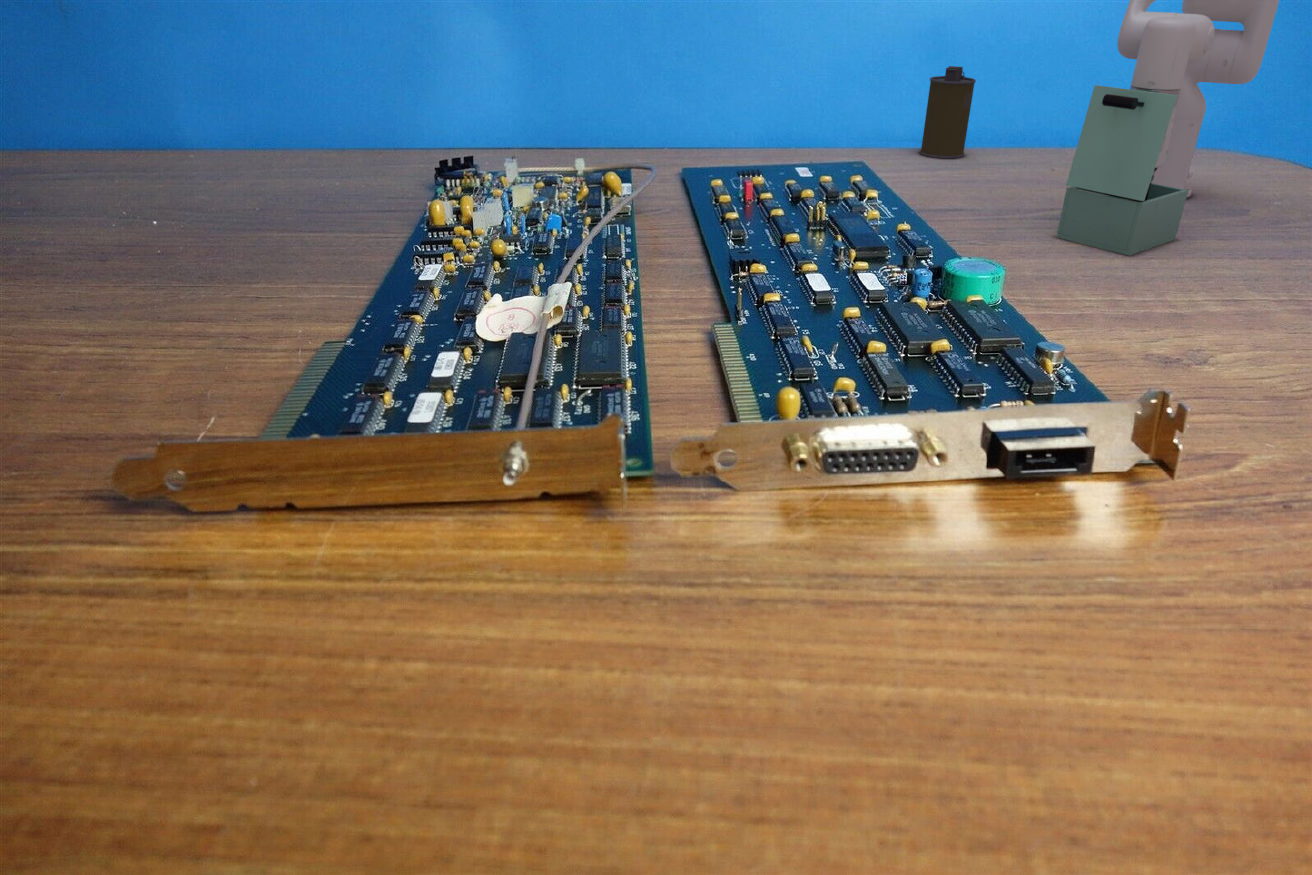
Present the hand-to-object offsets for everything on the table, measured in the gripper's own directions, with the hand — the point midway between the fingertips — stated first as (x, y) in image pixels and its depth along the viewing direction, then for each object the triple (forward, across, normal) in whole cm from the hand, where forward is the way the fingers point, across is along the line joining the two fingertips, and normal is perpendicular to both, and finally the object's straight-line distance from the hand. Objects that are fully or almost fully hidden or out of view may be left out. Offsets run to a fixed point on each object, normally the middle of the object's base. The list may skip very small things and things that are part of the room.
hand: (1126, 205), depth 164 cm
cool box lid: (-12, -7, 0) cm, 14 cm away
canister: (+6, +33, +64) cm, 72 cm away
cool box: (+6, -1, 0) cm, 6 cm away
